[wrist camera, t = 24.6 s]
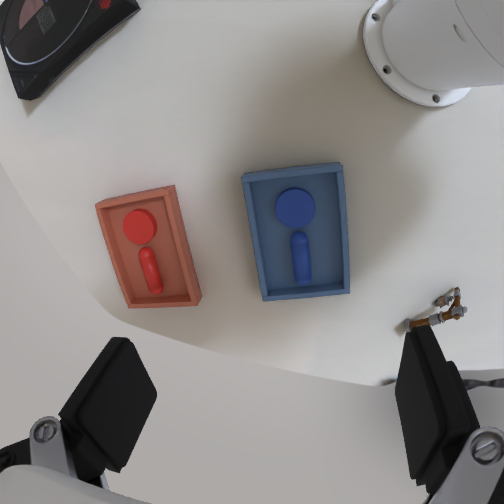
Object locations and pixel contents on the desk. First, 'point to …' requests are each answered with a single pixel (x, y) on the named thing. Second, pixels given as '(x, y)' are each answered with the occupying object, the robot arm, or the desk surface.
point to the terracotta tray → (163, 245)
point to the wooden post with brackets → (444, 316)
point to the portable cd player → (53, 37)
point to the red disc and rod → (141, 232)
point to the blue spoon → (295, 216)
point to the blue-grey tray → (317, 230)
